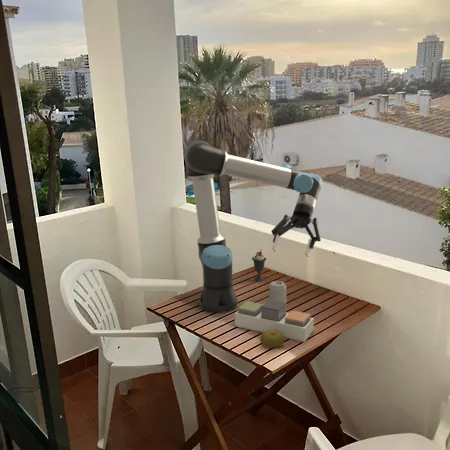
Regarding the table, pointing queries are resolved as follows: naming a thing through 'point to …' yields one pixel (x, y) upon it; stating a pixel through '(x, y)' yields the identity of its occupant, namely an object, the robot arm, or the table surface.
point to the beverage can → (277, 291)
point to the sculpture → (272, 334)
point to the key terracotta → (297, 318)
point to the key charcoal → (273, 310)
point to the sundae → (259, 264)
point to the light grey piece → (274, 326)
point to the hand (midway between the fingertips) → (289, 252)
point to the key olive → (250, 308)
